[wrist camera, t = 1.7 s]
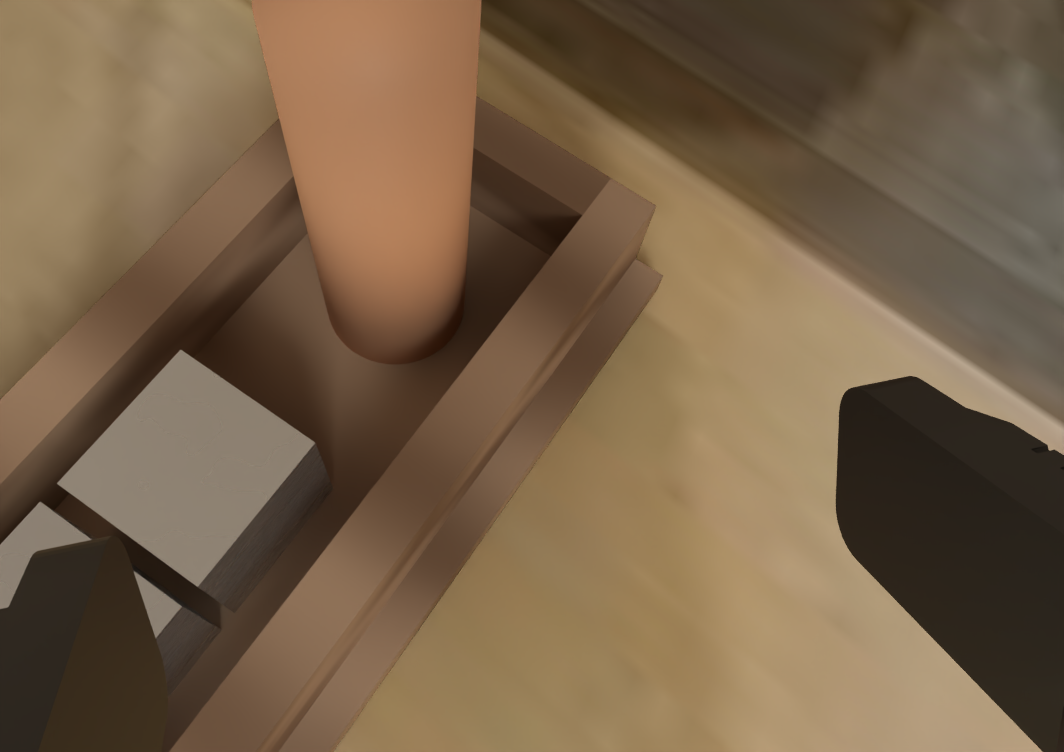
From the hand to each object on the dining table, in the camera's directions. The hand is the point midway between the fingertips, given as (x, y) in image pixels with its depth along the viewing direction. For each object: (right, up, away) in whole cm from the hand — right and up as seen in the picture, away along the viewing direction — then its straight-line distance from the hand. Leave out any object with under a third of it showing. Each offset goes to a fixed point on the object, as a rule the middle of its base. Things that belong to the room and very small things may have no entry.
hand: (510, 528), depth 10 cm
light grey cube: (-8, -2, +15) cm, 17 cm away
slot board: (-6, 0, +17) cm, 18 cm away
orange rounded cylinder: (-4, +4, +17) cm, 18 cm away
